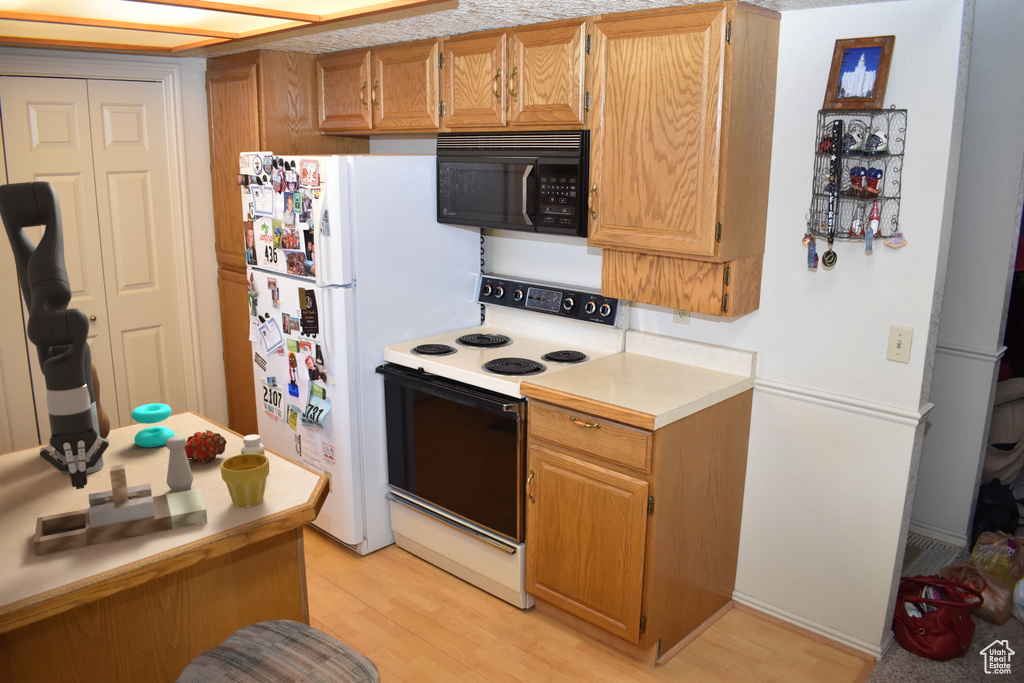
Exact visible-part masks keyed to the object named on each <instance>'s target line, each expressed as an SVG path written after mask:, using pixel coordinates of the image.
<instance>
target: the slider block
mask: <svg viewBox="0 0 1024 683" xmlns="http://www.w3.org/2000/svg"><path fill="white" fill-rule="evenodd" d="M108 467H109V476H110V484H111V490H112V493H113V500H110V501H105V502H106V504H110V503H116V502H121V501H127V500H132V499H137V496H133V497H128V491H127V488H128V485H127V477H126V468H125V463H122V464H116V465H110V466H108Z"/></svg>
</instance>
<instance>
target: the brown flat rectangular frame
mask: <svg viewBox="0 0 1024 683" xmlns="http://www.w3.org/2000/svg"><path fill="white" fill-rule="evenodd" d="M153 502H154V510H155V517H154V518H149V519H144V520H138V521H133V522H128V523H123V524H118V525H112V526H107V527H102V528H97V529H91V525H90V518H89V507H88V508H84V509H79V510H78V509H77V510H73V511H68V512H67V511H66V512H61V513H56V514H51V515H45V516H40V517H37V518H36V522H35V524H36V526H35V531H34V532H35V533H34V539H33V545H34V546H33V547H34V552H35V556H36V557H38V556H39V557H40V556H43V555H49V554H54V553H58V552H64V551H69V550H74V549H80V548H84V547H88V546H93V545H94V546H95V545H100V544H103V543H108V542H115V541H119V540H125V539H130V538H135V537H138V536H144V535H149V534H155V533H159V532H160V533H161V532H165V531H170V530H174V529H179V528H184V527H190V526H194V524H195V525H198V523H200V524H204V523H203V522H205V523H208V515H207V513H208V512H207V508H206V504H205V501H204V498H203V496H202V493H201V489H200V488H194V489H189V490H188V491H182V492H177V493H173V492H172V493H167V494H161V495H157V496H156V495H155V496H153Z"/></svg>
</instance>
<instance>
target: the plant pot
mask: <svg viewBox="0 0 1024 683" xmlns="http://www.w3.org/2000/svg"><path fill="white" fill-rule="evenodd" d="M220 474H221V478H222V481H223V482H224V483H225V485H226V487H227V489H228V493H229V496H230V498H231V499H230V500H231V502H232V504H233V506H235V507H237V506H238V508H248V507H247V506H251V507H253V506H252V505H254V506H256V505H255V504H257V505H259V504H260V503H261V502H263V500H264V495H265V488H266V482H267V477H268V476H269V474H270V460H269V458H268V456H267V455H265V456H264V455H262V454H255V453H248V454H236V455H232V456H229V457H228V458H226V459H224V460H223V461H222V462H221V463H220ZM258 503H259V504H258Z"/></svg>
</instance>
